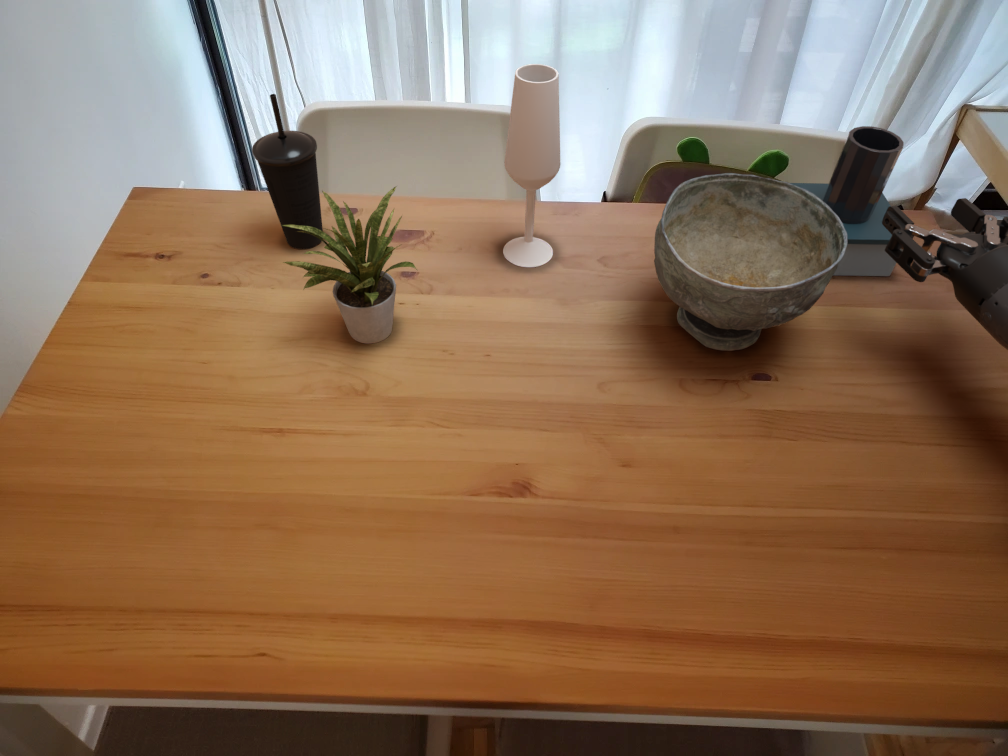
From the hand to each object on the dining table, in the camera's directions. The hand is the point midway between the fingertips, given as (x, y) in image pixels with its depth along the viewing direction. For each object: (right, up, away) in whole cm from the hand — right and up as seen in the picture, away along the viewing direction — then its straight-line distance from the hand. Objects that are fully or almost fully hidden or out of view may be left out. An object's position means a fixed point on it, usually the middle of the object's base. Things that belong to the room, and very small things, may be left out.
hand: (922, 209), depth 80 cm
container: (-3, -1, +17) cm, 17 cm away
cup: (-3, +3, +13) cm, 13 cm away
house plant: (-63, -12, +6) cm, 64 cm away
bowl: (-21, -13, +6) cm, 25 cm away
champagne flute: (-44, -2, +16) cm, 46 cm away
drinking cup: (-74, 0, +17) cm, 75 cm away
